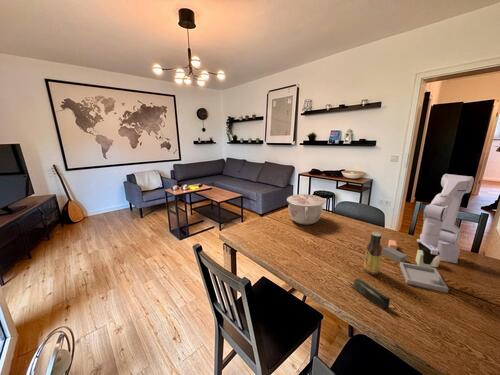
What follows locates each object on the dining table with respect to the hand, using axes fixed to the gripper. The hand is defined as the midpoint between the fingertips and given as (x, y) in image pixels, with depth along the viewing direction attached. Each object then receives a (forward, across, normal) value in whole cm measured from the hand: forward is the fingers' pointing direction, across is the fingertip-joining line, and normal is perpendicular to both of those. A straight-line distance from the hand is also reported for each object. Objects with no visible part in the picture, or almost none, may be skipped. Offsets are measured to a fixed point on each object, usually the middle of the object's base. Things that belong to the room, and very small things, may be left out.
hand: (424, 260), depth 91 cm
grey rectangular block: (+9, -14, -8) cm, 18 cm away
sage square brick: (+2, 0, 0) cm, 2 cm away
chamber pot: (+9, -44, -59) cm, 74 cm away
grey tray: (+9, 0, 0) cm, 9 cm away
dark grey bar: (+9, +21, -23) cm, 32 cm away
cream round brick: (+9, -14, +8) cm, 18 cm away
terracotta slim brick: (+9, -24, -7) cm, 26 cm away
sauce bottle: (+9, +3, -20) cm, 22 cm away
